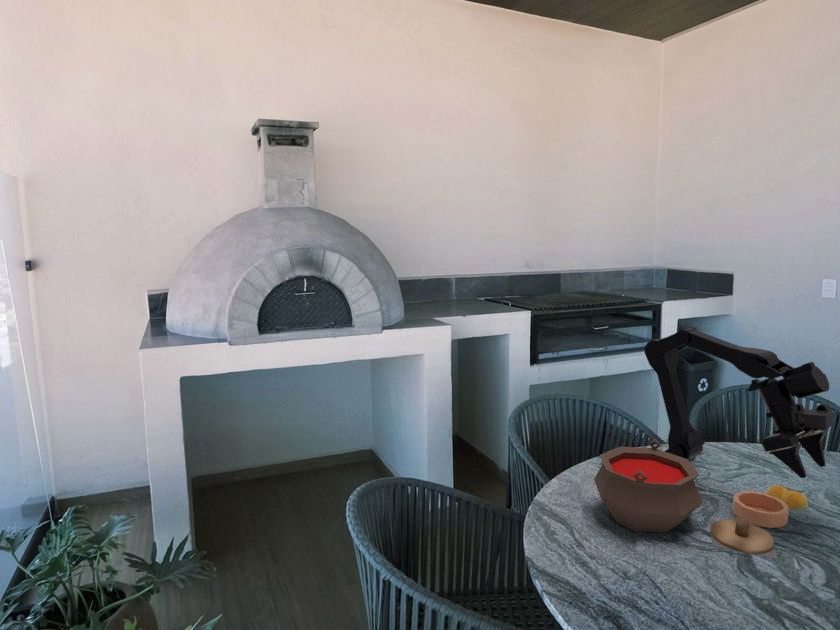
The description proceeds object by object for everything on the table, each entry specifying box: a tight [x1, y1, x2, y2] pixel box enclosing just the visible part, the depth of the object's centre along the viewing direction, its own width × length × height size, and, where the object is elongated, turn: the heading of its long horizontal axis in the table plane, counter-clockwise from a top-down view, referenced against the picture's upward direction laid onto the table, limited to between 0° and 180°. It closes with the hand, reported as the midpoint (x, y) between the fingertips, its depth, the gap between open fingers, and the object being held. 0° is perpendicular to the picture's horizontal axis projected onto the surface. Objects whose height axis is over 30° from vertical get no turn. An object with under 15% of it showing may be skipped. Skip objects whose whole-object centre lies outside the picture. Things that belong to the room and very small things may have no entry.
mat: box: [708, 519, 778, 560], centre depth 127 cm, size 12×12×1 cm
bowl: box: [732, 490, 790, 529], centre depth 136 cm, size 11×11×4 cm
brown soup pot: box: [593, 438, 703, 533], centre depth 135 cm, size 24×24×16 cm
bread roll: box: [764, 485, 809, 510], centre depth 143 cm, size 8×9×4 cm
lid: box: [710, 516, 775, 554], centre depth 126 cm, size 12×12×4 cm
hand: (813, 472), depth 127 cm, fingers open, 9 cm apart
